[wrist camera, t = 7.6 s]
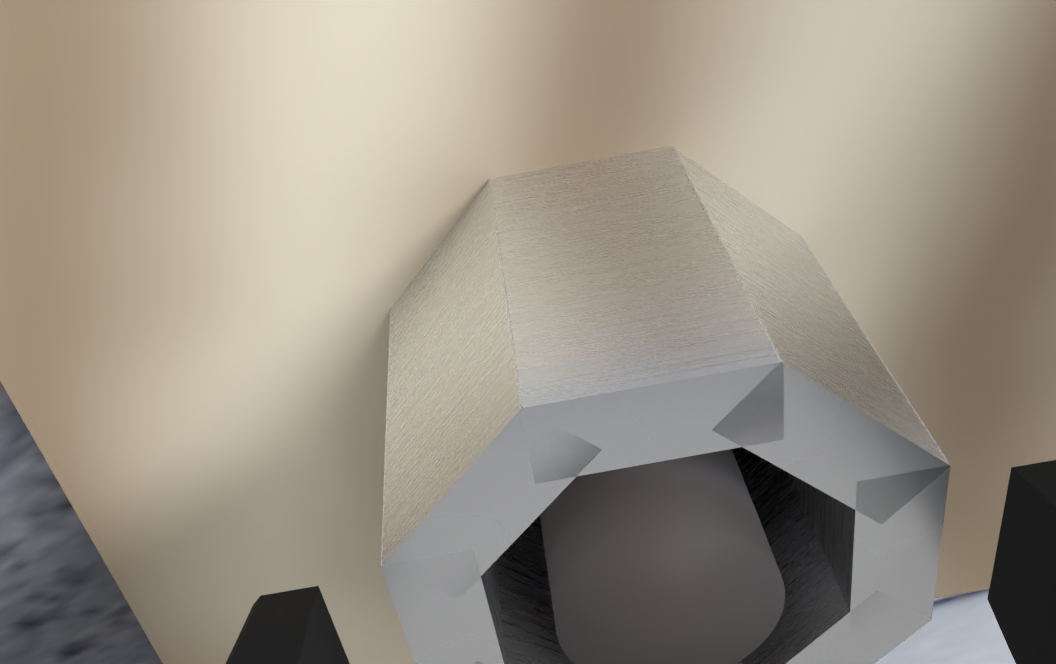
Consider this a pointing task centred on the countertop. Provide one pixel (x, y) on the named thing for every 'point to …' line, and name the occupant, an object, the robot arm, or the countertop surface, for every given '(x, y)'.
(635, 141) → the post board
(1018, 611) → the robot arm
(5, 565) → the countertop surface
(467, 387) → the steel ring
